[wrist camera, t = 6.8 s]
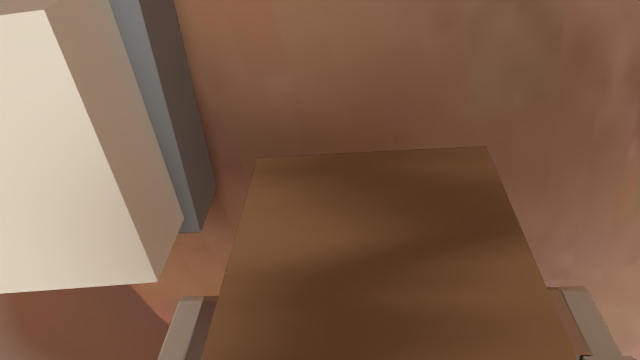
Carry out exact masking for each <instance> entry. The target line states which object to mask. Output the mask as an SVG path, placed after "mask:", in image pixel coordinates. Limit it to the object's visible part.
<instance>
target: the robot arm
mask: <svg viewBox="0 0 640 360" xmlns="http://www.w3.org/2000/svg"><path fill="white" fill-rule="evenodd" d="M546 288H547V290H548V292H549V295H550V297H551V299H552V302H553V304H554V306H555V309H556V311H557V313H558V316H559V318H560V320H561V323H562V325H563V327H564V330H565V332H566V334H567V336H568V339H569V341H570V343H571V346H572V348H573V350H574V353H575V355H576V357H577V360H636V359H635V358H633V357H632V356H623V355H622V353H621V351H620V350H619V348H618V346H617V344H616V342H615V340H614V338H613V336H612V334H611V333H610V331H609V329H608V327H607V325H606V323H605V321H604V319H603V317H602V315H601V314H600V312H599V310H598V308H597V306H596V304H595V302H594V300H593V298H592V297H591V295H590V293H589V291H588V290H587V289H586V288H585V287H584V286H580V287H557V288H555V287H546ZM217 300H218V296H183V298H182V299H181V300H180V301H179V302H178V305H177V308H176V310H175V313H174V316H173V319H172V321H171V324H170V327H169V330H168V332H167V335H166V338H165V340H164V343H163V346H162V349H161V351H160V354H159V357H158V360H201V357H202V354H203V350H204V347H205V343H206V339H207V336H208V332H209V329H210V325H211V321H212V318H213V314H214V311H215V307H216V304H217Z"/></svg>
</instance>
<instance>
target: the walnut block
mask: <svg viewBox="0 0 640 360" xmlns="http://www.w3.org/2000/svg"><path fill="white" fill-rule="evenodd" d="M201 360H577V357H576V355H575V353H574V350H573V348H572V346H571V343H570V341H569V339H568V336H567V334H566V332H565V330H564V327H563V325H562V323H561V320H560V318H559V316H558V313H557V311H556V309H555V306H554V304H553V302H552V299H551V297H550V295H549V292H548V290H547V288H546V285H545V283H544V281H543V278H542V276H541V274H540V271H539V269H538V267H537V264H536V262H535V260H534V257H533V255H532V253H531V250H530V248H529V246H528V243H527V241H526V239H525V236H524V234H523V232H522V229H521V227H520V225H519V222H518V220H517V218H516V215H515V213H514V211H513V209H512V206H511V204H510V202H509V199H508V197H507V195H506V192H505V190H504V188H503V185H502V183H501V181H500V178H499V176H498V174H497V171H496V169H495V167H494V164H493V162H492V160H491V157H490V155H489V153H488V150H487V148H486V146H478V147H459V148H439V149H419V150H399V151H379V152H360V153H340V154H320V155H300V156H280V157H260V158H257V160H256V164H255V167H254V171H253V175H252V178H251V182H250V185H249V189H248V192H247V196H246V200H245V203H244V207H243V210H242V214H241V218H240V221H239V225H238V228H237V232H236V235H235V239H234V243H233V246H232V250H231V253H230V257H229V261H228V264H227V268H226V271H225V275H224V278H223V282H222V286H221V289H220V293H219V296H218V300H217V304H216V307H215V311H214V314H213V318H212V321H211V325H210V329H209V332H208V336H207V339H206V343H205V347H204V350H203V354H202V357H201Z"/></svg>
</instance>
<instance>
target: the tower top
mask: <svg viewBox="0 0 640 360" xmlns="http://www.w3.org/2000/svg"><path fill="white" fill-rule="evenodd" d="M183 220H184V216H183V213H182V210H181V208H180V205H179V202H178V199H177V196H176V193H175V190H174V187H173V185H172V182H171V179H170V176H169V173H168V170H167V167H166V164H165V161H164V159H163V156H162V153H161V150H160V147H159V144H158V141H157V138H156V136H155V133H154V130H153V127H152V124H151V121H150V118H149V115H148V112H147V110H146V107H145V104H144V101H143V98H142V95H141V92H140V89H139V87H138V84H137V81H136V78H135V75H134V72H133V69H132V66H131V63H130V61H129V58H128V55H127V52H126V49H125V46H124V43H123V40H122V38H121V35H120V32H119V29H118V26H117V23H116V20H115V17H114V14H113V12H112V9H111V6H110V3H109V0H0V294H1V293H14V292H28V291H42V290H55V289H68V288H81V287H95V286H110V285H123V284H137V283H151V282H158V281H159V278H160V276H161V274H162V271H163V269H164V266H165V264H166V261H167V259H168V256H169V254H170V251H171V249H172V247H173V244H174V242H175V239H176V237H177V234H178V232H179V229H180V227H181V225H182V222H183Z"/></svg>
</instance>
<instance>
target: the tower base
mask: <svg viewBox="0 0 640 360" xmlns="http://www.w3.org/2000/svg"><path fill="white" fill-rule="evenodd" d="M109 3H110V6H111V9H112V12H113V14H114V17H115V20H116V23H117V26H118V29H119V32H120V35H121V38H122V40H123V43H124V46H125V49H126V52H127V55H128V58H129V61H130V63H131V66H132V69H133V72H134V75H135V78H136V81H137V84H138V87H139V89H140V92H141V95H142V98H143V101H144V104H145V107H146V110H147V112H148V115H149V118H150V121H151V124H152V127H153V130H154V133H155V136H156V138H157V141H158V144H159V147H160V150H161V153H162V156H163V159H164V161H165V164H166V167H167V170H168V173H169V176H170V179H171V182H172V185H173V187H174V190H175V193H176V196H177V199H178V202H179V205H180V208H181V210H182V213H183V216H184V220H183V222H182V225H181V227H180V229H179V232H178V233H197V232H201V230H202V227H203V224H204V221H205V219H206V216H207V213H208V210H209V207H210V204H211V201H212V199H213V196H214V193H215V190H216V183H215V178H214V174H213V170H212V166H211V161H210V157H209V153H208V148H207V144H206V140H205V135H204V131H203V127H202V122H201V118H200V114H199V109H198V105H197V101H196V96H195V92H194V88H193V83H192V79H191V75H190V70H189V66H188V62H187V57H186V53H185V49H184V44H183V40H182V36H181V31H180V27H179V23H178V18H177V14H176V10H175V5H174V1H173V0H109Z"/></svg>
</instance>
